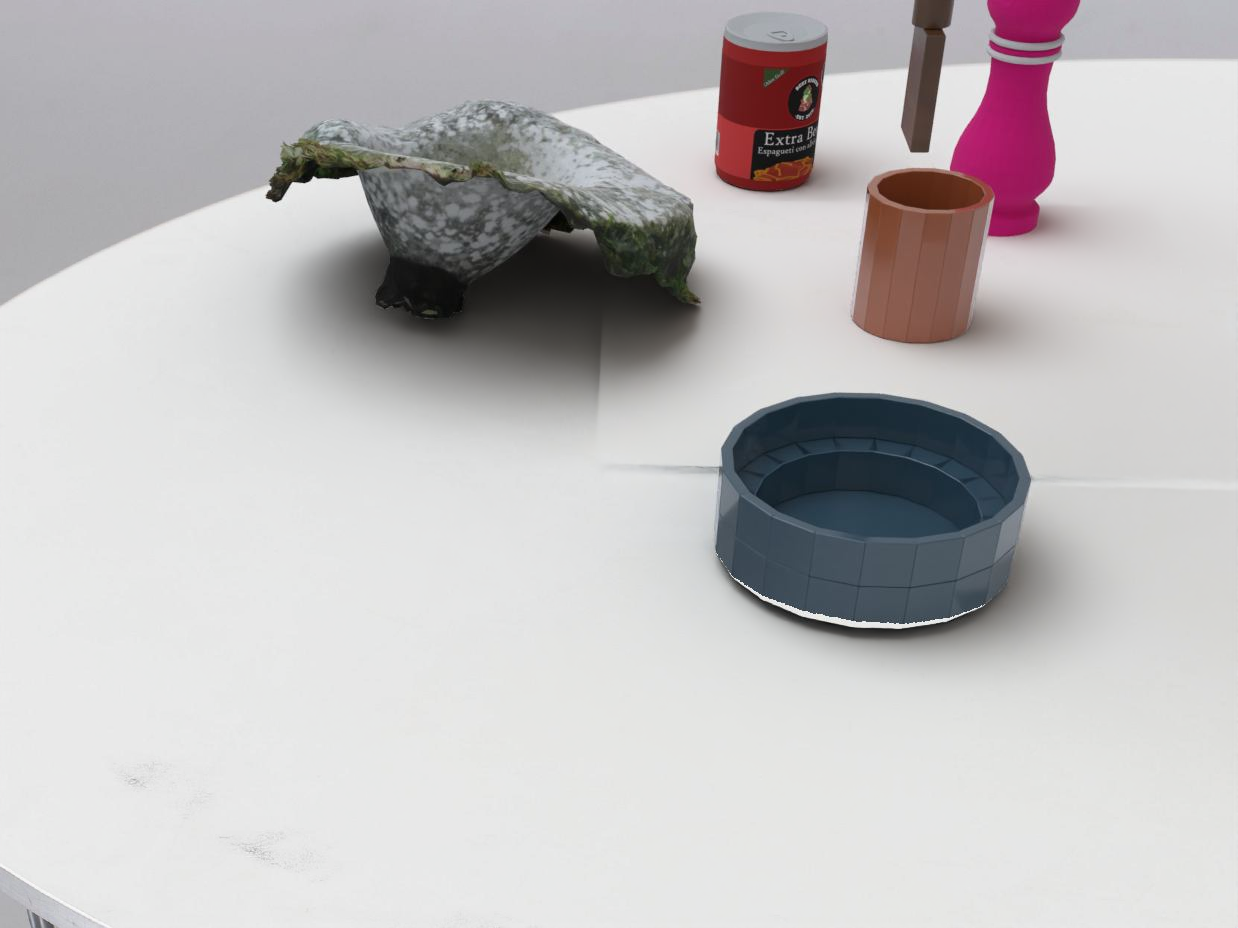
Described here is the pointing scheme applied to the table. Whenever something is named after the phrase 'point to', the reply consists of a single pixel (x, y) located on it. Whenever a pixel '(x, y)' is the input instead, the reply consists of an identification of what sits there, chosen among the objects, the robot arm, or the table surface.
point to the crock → (921, 254)
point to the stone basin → (493, 198)
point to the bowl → (870, 507)
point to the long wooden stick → (924, 71)
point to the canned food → (769, 99)
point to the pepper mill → (1016, 112)
